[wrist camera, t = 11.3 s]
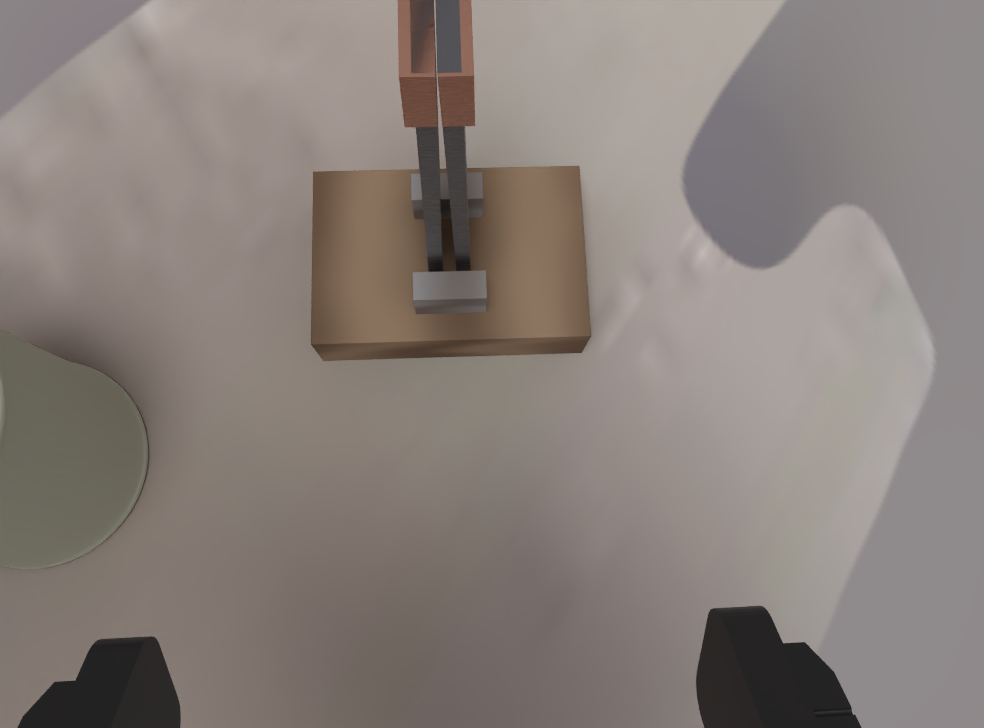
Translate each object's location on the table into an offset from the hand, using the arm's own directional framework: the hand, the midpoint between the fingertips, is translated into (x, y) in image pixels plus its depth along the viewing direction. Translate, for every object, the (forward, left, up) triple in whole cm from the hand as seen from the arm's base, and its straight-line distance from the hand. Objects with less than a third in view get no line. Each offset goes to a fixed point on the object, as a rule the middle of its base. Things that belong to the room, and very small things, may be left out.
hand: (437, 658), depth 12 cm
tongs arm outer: (+8, +12, -20) cm, 25 cm away
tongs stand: (+7, +12, -24) cm, 28 cm away
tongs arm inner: (+7, +13, -20) cm, 25 cm away
